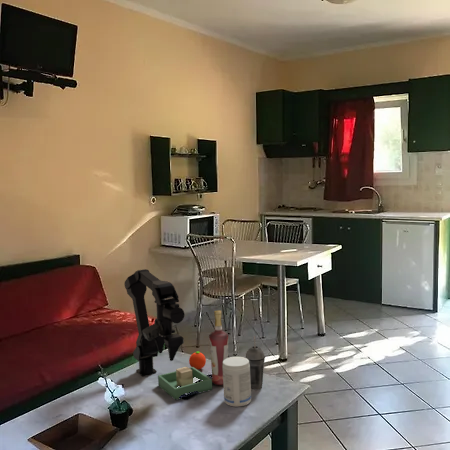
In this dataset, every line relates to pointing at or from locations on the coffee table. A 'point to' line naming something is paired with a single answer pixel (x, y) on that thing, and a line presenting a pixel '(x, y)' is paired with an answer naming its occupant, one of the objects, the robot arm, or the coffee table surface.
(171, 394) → the green bin
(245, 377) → the supplement tub
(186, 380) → the beech block
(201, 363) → the clementine
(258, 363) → the beverage cup
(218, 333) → the liquor
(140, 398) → the coffee table surface
